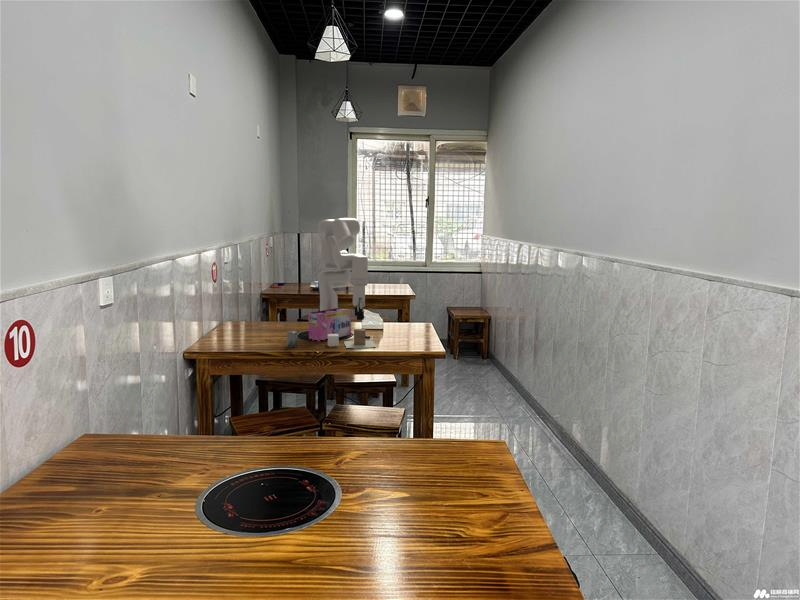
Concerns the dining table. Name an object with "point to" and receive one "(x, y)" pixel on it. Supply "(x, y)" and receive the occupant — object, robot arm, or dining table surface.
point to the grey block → (333, 339)
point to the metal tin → (292, 338)
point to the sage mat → (351, 345)
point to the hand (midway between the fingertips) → (359, 317)
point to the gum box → (329, 323)
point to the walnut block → (359, 336)
